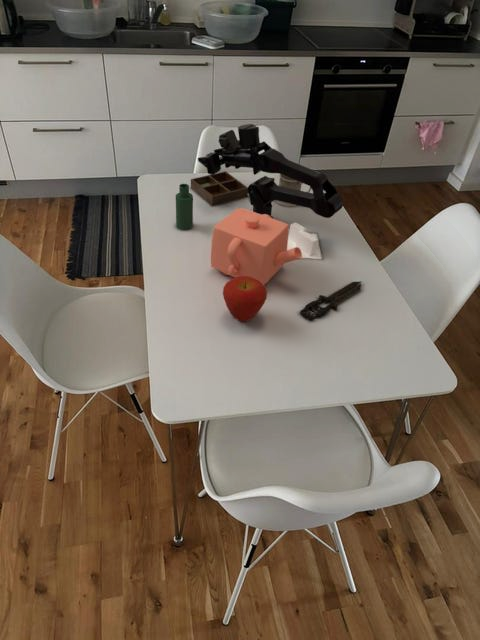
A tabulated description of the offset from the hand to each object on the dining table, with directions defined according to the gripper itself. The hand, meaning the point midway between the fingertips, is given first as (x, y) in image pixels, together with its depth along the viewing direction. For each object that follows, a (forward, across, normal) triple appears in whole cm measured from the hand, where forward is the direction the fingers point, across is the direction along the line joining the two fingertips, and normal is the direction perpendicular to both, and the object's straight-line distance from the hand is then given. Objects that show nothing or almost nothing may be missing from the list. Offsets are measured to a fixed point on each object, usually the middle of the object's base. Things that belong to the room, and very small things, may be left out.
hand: (206, 155), depth 174 cm
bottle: (-4, +21, +17) cm, 27 cm away
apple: (-44, +47, +26) cm, 70 cm away
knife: (-60, +24, +30) cm, 71 cm away
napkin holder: (-39, +5, +25) cm, 47 cm away
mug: (-23, -17, +21) cm, 36 cm away
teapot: (-37, +28, +25) cm, 52 cm away
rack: (+2, -6, +16) cm, 17 cm away
